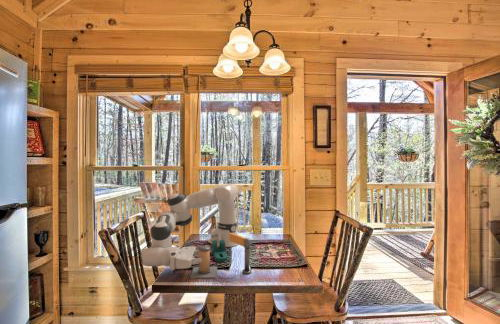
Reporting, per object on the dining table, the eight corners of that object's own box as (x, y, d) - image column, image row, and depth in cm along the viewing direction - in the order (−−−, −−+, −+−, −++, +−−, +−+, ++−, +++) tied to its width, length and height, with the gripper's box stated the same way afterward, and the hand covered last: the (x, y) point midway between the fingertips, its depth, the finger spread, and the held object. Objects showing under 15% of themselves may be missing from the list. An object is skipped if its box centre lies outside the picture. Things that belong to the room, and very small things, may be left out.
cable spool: (195, 271, 139) (195, 247, 138) (205, 268, 143) (205, 244, 143) (202, 275, 134) (202, 250, 134) (212, 271, 139) (212, 247, 138)
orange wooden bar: (251, 247, 140) (251, 239, 139) (246, 248, 137) (246, 240, 137) (232, 239, 151) (232, 232, 151) (227, 241, 149) (228, 233, 149)
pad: (190, 278, 132) (190, 277, 132) (193, 268, 144) (193, 267, 144) (215, 278, 133) (215, 276, 133) (217, 267, 145) (217, 266, 145)
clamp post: (240, 272, 140) (240, 247, 140) (247, 269, 143) (247, 245, 143) (246, 274, 137) (246, 249, 137) (253, 272, 140) (253, 247, 140)
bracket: (211, 252, 169) (212, 239, 169) (223, 251, 171) (223, 238, 171) (216, 263, 152) (216, 248, 152) (228, 262, 154) (228, 247, 154)
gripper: (178, 255, 148) (205, 255, 149) (169, 271, 127) (200, 271, 128) (178, 243, 148) (205, 243, 149) (170, 257, 127) (200, 257, 128)
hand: (203, 256), depth 138 cm, fingers open, 8 cm apart
